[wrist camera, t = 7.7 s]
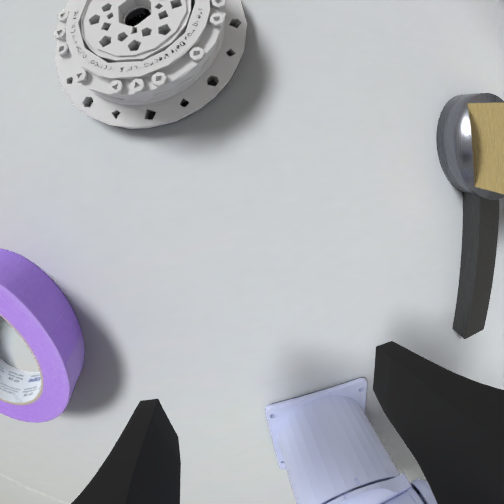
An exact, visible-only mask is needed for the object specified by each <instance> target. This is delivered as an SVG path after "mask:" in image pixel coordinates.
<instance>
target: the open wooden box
mask: <svg viewBox="0 0 504 504" xmlns="http://www.w3.org/2000/svg"><path fill="white" fill-rule="evenodd" d="M467 104H468V111H469V119H470V127H471V137H472V149H473V164H474V187H478V188H482V189H486V190H489V191H493V192H497V193H500V194H504V103H467Z"/></svg>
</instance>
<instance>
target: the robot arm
mask: <svg viewBox="0 0 504 504" xmlns="http://www.w3.org/2000/svg"><path fill="white" fill-rule="evenodd" d="M373 390H374V392H375V395H376V397H377V399H378V401H379V403H380V405H381V407H382V409H383V411H384V413H385V414H386V416H387V417H388V419H389V420H390V422H391V423H392V425H393V426H394V428H395V429H396V430H397V432H398V433H399V435H400V436H401V438H402V439H403V441H404V442H405V444H406V445H407V447H408V448H409V449H410V451H411V452H412V454H413V455H414V457H415V459H416V460H417V462H418V464H419V465H420V467H421V469H422V471H423V473H424V475H425V477H426V479H427V481H426V480H422V479H416V480H414V481H412V482H411V484H410V482H409V480H408V479H407V477H406V475H405V474H404V473H403V474H401V475H400V474H399V472H398V470H397V468H396V467H395V465H394V463H393V461H392V460H391V458H390V456H389V455H388V453H387V451H386V449H385V448H384V446H383V444H382V443H381V441H380V439H379V437H378V436H377V434H376V432H375V431H374V429H373V427H372V425H371V424H370V422H369V420H368V419H367V417H366V415H365V406H366V393H367V381H366V379H365V378H358V379H356V380H353V381H350V382H347V383H344V384H341V385H338V386H334V387H331V388H328V389H325V390H322V391H318V392H315V393H312V394H308V395H305V396H301V397H298V398H294V399H290V400H286V401H283V402H279V403H275V404H271V405H268V406H267V407H266V408H265V412H266V416H267V420H268V424H269V428H270V432H271V436H272V440H273V444H274V448H275V452H276V456H277V460H278V464H279V467H280V469H286V470H287V473H288V477H289V480H290V483H291V487H292V490H293V493H294V497H295V500H296V503H297V504H504V390H501V389H497V388H494V387H491V386H487V385H484V384H481V383H478V382H475V381H473V380H470V379H468V378H465V377H463V376H460V375H458V374H456V373H453V372H451V371H449V370H447V369H445V368H443V367H441V366H439V365H437V364H435V363H433V362H431V361H429V360H427V359H425V358H423V357H421V356H419V355H417V354H415V353H414V352H412V351H410V350H408V349H406V348H404V347H402V346H400V345H398V344H397V343H395V342H392V341H391V342H388V343H385V344H382V345H380V346H377V347H376V357H375V371H374V383H373ZM272 414H273V415H272ZM180 468H181V462H180V451H179V441H178V436H177V434H176V432H175V430H174V429H173V427H172V425H171V423H170V421H169V419H168V417H167V415H166V414H165V412H164V410H163V408H162V406H161V404H160V402H159V400H158V399H153V400H145V401H140V403H139V404H138V406H137V408H136V409H135V411H134V413H133V415H132V416H131V418H130V420H129V422H128V424H127V425H126V427H125V429H124V431H123V432H122V434H121V436H120V437H119V439H118V441H117V442H116V444H115V446H114V447H113V449H112V451H111V452H110V454H109V456H108V457H107V458H106V460H105V461H104V463H103V464H102V466H101V467H100V469H99V470H98V472H97V473H96V475H95V476H94V477H93V479H92V480H91V481H90V483H89V484H88V485H87V486H86V488H85V489H84V490H83V491H82V493H81V494H80V495H79V496H78V497H77V498H76V499H75V500H74V501H73V502H72V503H71V504H180Z"/></svg>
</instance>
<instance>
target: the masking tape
mask: <svg viewBox="0 0 504 504" xmlns="http://www.w3.org/2000/svg"><path fill="white" fill-rule="evenodd" d="M0 316H1V317H2V318H3V319H4V320H6V321H7V322H8V323H9V324H10V325H11V326H12V327H13V328H14V329H15V331H16V332H17V333H18V334H19V335H20V336H21V337H22V339H23V340H24V342H25V343H26V344H27V346H28V347H29V349H30V351H31V353H32V354H33V356H34V358H35V360H36V362H37V365H38V368H39V372H27V371H23V370H20V369H17V368H15V367H13V366H11V365H9V364H7V363H6V362H4V361H3V360H2V359H1V358H0V413H2V414H4V415H6V416H9V417H11V418H14V419H17V420H21V421H26V422H46V421H49V420H52V419H54V418H56V417H58V416H59V415H60V414H61V413H62V412H63V411H64V410H65V408H66V407H67V405H68V403H69V400H70V397H71V395H72V392H73V390H74V387H75V384H76V382H77V380H78V377H79V375H80V372H81V370H82V367H83V363H84V357H85V347H84V339H83V335H82V331H81V328H80V325H79V322H78V320H77V317H76V315H75V313H74V311H73V309H72V307H71V305H70V303H69V302H68V300H67V299H66V297H65V295H64V294H63V293H62V291H61V290H60V289H59V287H58V286H57V285H56V284H55V283H54V282H53V280H52V279H51V278H50V277H49V276H48V275H47V274H46V273H45V272H44V271H43V270H41V269H40V268H39V267H38V266H36V265H35V264H34V263H32V262H31V261H29V260H28V259H26V258H25V257H23V256H21V255H19V254H17V253H14V252H11V251H8V250H4V249H0Z"/></svg>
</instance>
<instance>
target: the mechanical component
mask: <svg viewBox="0 0 504 504" xmlns="http://www.w3.org/2000/svg"><path fill="white" fill-rule="evenodd" d="M140 14H143V15H144V17H145V19H144V20H141V21H140V22H139V23H138V24H137V25H136V26H134V27H132V26H128V25H126V24H125V23H126V22H127V21H128V20H130V19H131V18H133V17H135V16H137V15H140ZM58 20H59V23H58V28H57V29H56V31H55V34H54V36H55V37H56V38H57V39H56V54H55V66H56V70H57V74H58V78H59V82H60V86H61V87H62V89H63V90H64V92H65V93H66V95H67V96H68V98H69V100H70V101H71V103H72V104H73V106H75V107H76V108H78V109H79V110H80V111H82V112H83V113H85V114H86V115H87V116H89V117H92V118H94V119H96V120H99V121H101V122H103V123H106V124H108V125H112V126H118V127H123V128H128V129H141V128H151V127H156V126H160V125H164V124H169V123H174V122H176V121H178V120H180V119H182V118H184V117H186V116H188V115H190V114H192V113H194V112H196V111H198V110H200V109H201V108H202V107H203V106H205V105H206V104H207V103H209V102H210V101H211V100H213V99H214V98H215V97H216V96H217V95H218V93H219V92H220V91H221V90H222V89H223V88H224V87H225V86H226V85H227V83H228V82H229V80H230V79H231V77H232V75H233V73H234V72H235V70H236V68H237V66H238V64H239V62H240V59H241V57H242V55H243V52H244V48H245V39H246V29H247V22H246V18H245V15H244V11H243V8H242V4H241V1H240V0H69V1H68V2H67V4H66V5H65V8H64V10H62V11H61V12H60V13H59V14H58ZM233 25H234V26H235V27H237V28H235V27H233ZM165 34H166V35H165ZM228 55H232V56H231V57H229V56H228ZM212 79H213V80H214V81H215V82H216V83H217V85H216V86H211V85H208V84H207V83H209V82H210V81H211V80H212ZM92 101H93V103H92V105H91V107H90V105H89V104H90V103H91V102H92ZM183 102H188V103H189V104H188V105H187V106H186V107H183V106H181V104H182V103H183ZM150 112H156V114H155V116H154V118H153V120H149V119H148V117H149V114H150ZM119 113H120V114H119ZM118 114H119V116H118V117H117V115H118Z"/></svg>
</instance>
